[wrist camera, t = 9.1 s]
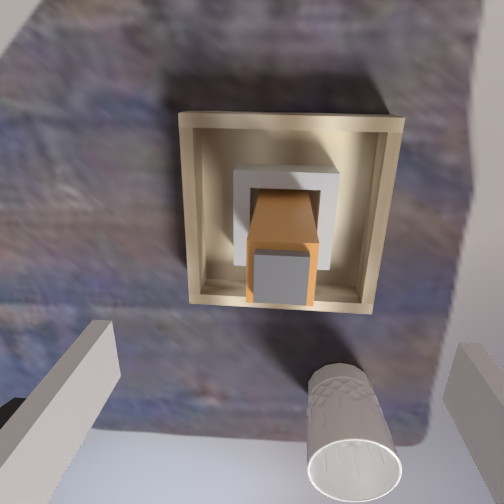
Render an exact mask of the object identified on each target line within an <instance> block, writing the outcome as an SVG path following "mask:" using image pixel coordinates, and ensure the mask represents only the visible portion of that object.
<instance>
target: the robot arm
mask: <svg viewBox="0 0 504 504" xmlns="http://www.w3.org/2000/svg"><path fill="white" fill-rule="evenodd" d="M120 376H121V375H120V368H119V362H118V356H117V350H116V344H115V337H114V331H113V325H112V321H105V320H92V321H91V323H90V324H89V325H88V326H87V327H86V329H85V330H84V331H83V332H82V333H81V334H80V336H79V337H78V338H77V339H76V340H75V342H74V343H73V344H72V345H71V346H70V348H69V349H68V350H67V351H66V352H65V353H64V355H63V356H62V357H61V358H60V359H59V361H58V362H57V363H56V364H55V365H54V367H53V368H52V369H51V370H50V371H49V372H48V374H47V375H46V376H45V377H44V378H43V380H42V381H41V382H40V383H39V384H38V386H37V387H36V388H35V389H34V390H33V391H32V393H31V394H30V395H29V396H28V397H27V398H13V399H12V400H10V401H9V402H8V403H6V404H5V405H3V406H2V407H0V504H47V503H48V501H49V499H50V498H51V496H52V494H53V492H54V491H55V489H56V487H57V485H58V484H59V482H60V480H61V479H62V477H63V475H64V473H65V472H66V470H67V468H68V466H69V465H70V463H71V461H72V460H73V458H74V456H75V454H76V452H77V451H78V449H79V447H80V446H81V444H82V442H83V441H84V439H85V437H86V435H87V434H88V432H89V430H90V428H91V427H92V425H93V423H94V421H95V420H96V418H97V416H98V415H99V413H100V411H101V409H102V408H103V406H104V404H105V402H106V401H107V399H108V397H109V396H110V394H111V392H112V390H113V389H114V387H115V385H116V383H117V382H118V380H119V378H120ZM443 401H444V403H445V405H446V407H447V409H448V411H449V413H450V415H451V417H452V419H453V421H454V423H455V425H456V427H457V429H458V431H459V433H460V435H461V436H462V438H463V440H464V442H465V444H466V446H467V448H468V450H469V452H470V454H471V456H472V458H473V460H474V462H475V464H476V466H477V468H478V470H479V472H480V474H481V475H482V477H483V479H484V481H485V483H486V485H487V487H488V489H489V491H490V493H491V495H492V497H493V499H494V501H495V503H496V504H504V373H503V372H502V370H501V369H500V368H499V366H498V365H497V364H496V363H495V361H494V360H493V359H492V358H491V356H490V355H489V354H488V352H487V351H486V350H485V348H484V347H483V346H482V345H481V344H480V343H462V342H459V344H458V347H457V351H456V354H455V358H454V361H453V364H452V368H451V371H450V375H449V378H448V382H447V385H446V388H445V392H444V395H443Z"/></svg>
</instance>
